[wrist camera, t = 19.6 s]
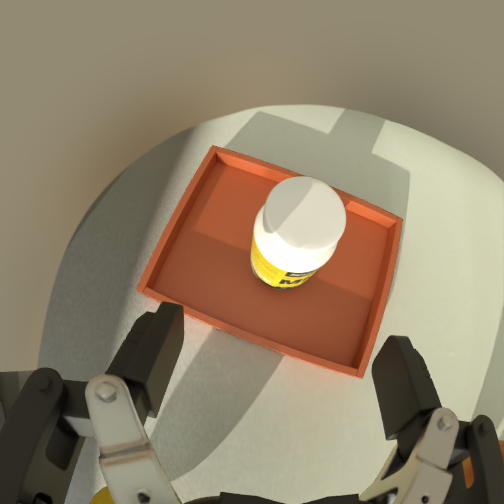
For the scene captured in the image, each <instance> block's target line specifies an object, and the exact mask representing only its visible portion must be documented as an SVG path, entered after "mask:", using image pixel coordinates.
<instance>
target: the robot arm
mask: <svg viewBox="0 0 504 504" xmlns="http://www.w3.org/2000/svg"><path fill="white" fill-rule="evenodd" d="M183 340H184V308H183V305H180V304H175V303H170V302H166V301H163V302H162V303H161V304H160V306H159V308H158V310H157V311H156V313H152V312H148V311H147V312H146V313H145V314H143V315H142V316H140V317H139V318H138V319H137V320H136V321H135V323H134V325H133V326H132V328H131V331H129V333H128V335H127V337H126V340H124V342H123V343H122V345H121V347H120V349H119V350H118V352H117V354H116V356H115V357H114V359H113V361H112V363H111V364H110V366H109V368H108V370H107V371H106V372H105V374H102V375H98V376H96V377H94V378H93V379H91V380H90V381H88V382H81V381H71V380H63V379H62V378H61V376H60V374H59V373H58V372H57V371H56V370H54V369H51V368H40V369H37V370H35V371H34V372H33V373H32V374H31V375H30V376H29V378H28V380H27V381H26V383H25V385H24V387H23V388H22V390H21V392H20V394H19V395H18V397H17V399H16V401H15V403H14V405H13V407H12V408H11V410H10V412H9V414H8V416H7V418H6V420H5V422H4V424H3V427H2V429H1V431H0V504H64V502H65V499H66V495H67V492H68V488H69V485H70V482H71V479H72V476H73V472H74V469H75V466H76V463H77V461H78V458H79V455H80V452H81V449H82V446H83V444H84V441H85V438H86V437H94V438H96V440H97V444H98V447H99V450H100V456H99V463H100V467H101V470H102V473H103V476H104V478H105V481H106V483H107V486H108V488H109V491H110V493H111V496H112V498H113V500H114V502H115V504H182V502H181V501H180V499H179V497H178V495H177V494H176V492H175V490H174V488H173V487H172V485H171V483H170V481H169V479H168V478H167V476H166V474H165V472H164V470H163V468H162V466H161V464H160V462H159V460H158V458H157V456H156V454H155V452H154V450H153V447H152V445H151V443H150V441H149V438H148V436H147V434H146V431H145V429H144V427H143V426H144V424H145V421H146V418H147V416H149V417H152V418H156V417H157V415H158V412H159V409H160V406H161V403H162V400H163V398H164V395H165V392H166V389H167V387H168V384H169V381H170V378H171V376H172V373H173V370H174V368H175V365H176V362H177V360H178V357H179V354H180V352H181V349H182V345H183ZM372 377H373V381H374V385H375V389H376V394H377V398H378V402H379V407H380V412H381V416H382V421H383V426H384V431H385V436H386V440H394V439H397V444H396V445H395V446H394V448H393V449H392V451H391V453H390V455H389V457H388V459H387V461H386V462H385V464H384V466H383V468H382V469H381V471H380V473H379V474H378V476H377V478H376V479H375V481H374V482H373V483H372V484H371V485H370V486H369V487H368V488H367V489H366V490H365V491H364V492H363V493H362V494H361V495H360V497H359V494H352V495H342V496H330V497H325V498H322V499H318V500H314V501H311V502H307V503H303V504H504V460H503V456H502V452H501V448H500V444H499V441H498V437H497V434H496V431H495V427H494V425H493V422H492V421H491V419H490V418H488V417H487V416H485V415H479V416H477V417H476V418H475V419H474V420H473V421H471V422H465V421H460V420H458V419H457V416H456V415H455V414H454V412H452V411H451V410H450V409H448V408H442V406H441V403H440V400H439V397H438V395H437V392H436V389H435V386H434V384H433V381H432V379H431V378H430V374H429V371H428V370H427V366H426V364H425V362H424V359H423V357H422V356H421V355H420V354H419V353H418V351H417V350H416V349H414V348H413V346H412V344H411V341H410V339H409V338H408V337H407V336H394V335H391V336H389V337H388V338H387V340H386V342H385V343H384V345H383V346H382V348H381V350H380V351H379V353H378V355H377V356H376V358H375V359H374V361H373V364H372ZM469 457H470V460H471V465H472V470H473V476H474V481H473V483H472V485H471V486H470V487H469V488H467V486H466V481H465V475H464V469H463V464H462V462H463V461H464V460H466V459H467V458H469ZM184 504H284V503H280V502H276V501H272V500H269V499H265V498H262V497H258V496H251V495H241V494H233V493H226V492H220V496H211V497H204V498H199V499H195V500H192V501H189V502H186V503H184Z"/></svg>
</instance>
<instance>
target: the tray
mask: <svg viewBox="0 0 504 504" xmlns="http://www.w3.org/2000/svg"><path fill="white" fill-rule="evenodd" d="M299 176H303V175H301V174H298V173H295V172H293V171H290V170H287V169H284V168H282V167H279V166H276V165H273V164H270V163H267V162H264V161H261V160H259V159H256V158H252V157H249V156H246V155H243V154H240V153H237V152H234V151H230V150H227V149H224V148H220V147H219V148H218V147H217V146H214V145H212V147H211V148H210V150H209V151H208V153H207V155H206V156H205V158H204V160H203V161H202V163H201V165H200V166H199V168H198V170H197V171H196V173H195V175H194V177H193V178H192V180H191V182H190V184H189V185H188V187H187V189H186V191H185V192H184V194H183V196H182V198H181V200H180V201H179V203H178V205H177V207H176V209H175V211H174V213H173V214H172V216H171V218H170V220H169V222H168V224H167V226H166V228H165V230H164V232H163V234H162V236H161V238H160V240H159V242H158V244H157V246H156V248H155V250H154V252H153V254H152V256H151V258H150V260H149V262H148V264H147V266H146V269H145V271H144V273H143V275H142V277H141V279H140V282H139V284H138V286H137V288H136V291H138V292H140V293H142V294H144V295H146V296H148V297H150V298H152V299H154V300H156V301H158V302H160V303H162V302H163V301H166V302H170V303H175V304H180V305H183V308H184V314H185V315H188V316H190V317H192V318H194V319H197V320H199V321H201V322H203V323H206V324H208V325H210V326H213V327H215V328H217V329H220V330H222V331H225V332H227V333H229V334H232V335H234V336H237V337H239V338H242V339H244V340H247V341H250V342H252V343H255V344H257V345H260V346H263V347H265V348H268V349H271V350H273V351H276V352H279V353H282V354H285V355H287V356H290V357H293V358H296V359H299V360H302V361H305V362H308V363H311V364H314V365H317V366H320V367H323V368H327V369H330V370H333V371H336V372H340V373H343V374H347V375H350V376H354V377H357V378H361V379H362V378H363V376H364V373H365V370H366V368H367V365H368V362H369V359H370V356H371V353H372V350H373V347H374V344H375V341H376V338H377V334H378V331H379V328H380V324H381V321H382V317H383V314H384V310H385V306H386V302H387V298H388V294H389V290H390V286H391V282H392V277H393V273H394V268H395V263H396V258H397V253H398V247H399V241H400V235H401V229H402V222H403V219H402V218H400V217H397V216H396V215H394V214H392V213H390V212H388V211H385V210H383V209H381V208H379V207H377V206H375V205H373V204H370V203H368V202H366V201H364V200H361V199H359V198H357V197H355V196H352V195H350V194H348V193H345V192H343V191H341V190H338V189H336V188H334V187H331V186H330V187H331V188H332V189H333V190H334V191H335V192H336V193H337V194H338V196H339V197H340V199H341V200H342V202H343V205H344V207H345V211H346V226H345V229H344V232H343V234H342V236H341V237H340V239H339V240H338V242H337V246H336V249H335V251H334V253H333V254H332V256H331V257H330V259H329V260H328V261H327V262H326V263H325V264H324V265H323V266H322V267H321V268H319V269H318V270H317V271H316V272H315V273H314V274H313V275H312V276H311V277H309V278H308V279H307V280H306V281H305V282H304V283H302V284H301V285H299V286H298V287H296V288H293V289H289V290H277V289H273V288H270V287H268V286H266V285H265V284H263V283H262V282H261V281H260V280H259V279H258V278H257V277H256V275H255V273H254V272H253V269H252V266H251V261H250V255H251V247H252V239H253V230H254V224H255V219H256V216H257V214H258V212H259V211H260V209H261V208H262V206H263V205H264V204H265V203H266V200H267V197H268V195H269V193H270V192H271V190H272V189H273V188H274V187H275V186H276V185H277V184H279V183H280V182H282V181H284V180H286V179H288V178H292V177H299ZM304 177H306V176H304ZM328 186H329V185H328Z"/></svg>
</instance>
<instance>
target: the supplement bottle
mask: <svg viewBox="0 0 504 504" xmlns="http://www.w3.org/2000/svg"><path fill="white" fill-rule="evenodd" d="M345 226H346V211H345V207H344V205H343V202H342V200H341V199H340V197H339V196H338V194H337V193H336V192H335V191H334V190H333V189H332V188H331V187H330V186H328V185H327V184H325V183H324V182H322V181H320V180H317V179H315V178H311V177H304V176H299V177H292V178H288V179H286V180H284V181H282V182H280V183H279V184H277V185H276V186H275V187H274V188H273V189H272V190H271V192H270V193H269V195H268V197H267V200H266V203H265V204H264V205H263V206H262V208H261V209H260V211H259V212H258V214H257V216H256V219H255V224H254V230H253V239H252V247H251V255H250V261H251V266H252V269H253V272H254V273H255V275H256V277H257V278H258V279H259V280H260V281H261V282H262V283H263V284H265V285H266V286H268V287H270V288H273V289H277V290H289V289H293V288H296V287H298V286H299V285H301V284H302V283H304V282H305V281H306V280H307V279H308V278H309V277H311V276H312V275H313V274H314V273H315V272H316V271H317V270H318V269H319V268H321V267H322V266H323V265H324V264H325V263H326V262H327V261H328V260H329V259H330V257H331V256H332V254H333V253H334V251H335V249H336V246H337V242H338V240H339V239H340V237H341V236H342V234H343V232H344V229H345Z"/></svg>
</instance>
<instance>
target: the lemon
mask: <svg viewBox="0 0 504 504" xmlns="http://www.w3.org/2000/svg"><path fill="white" fill-rule="evenodd" d="M90 504H115V502H114V500H113V498H112V496H111V493H110V491H109V488H108V486H107V487H104V488H103V489H101V490H100V491H99V492H98V493H96V494H95V495H94V496H93V498H92V500H91V501H90Z"/></svg>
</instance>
